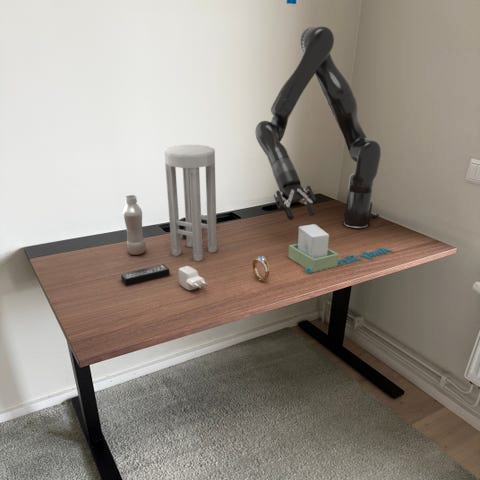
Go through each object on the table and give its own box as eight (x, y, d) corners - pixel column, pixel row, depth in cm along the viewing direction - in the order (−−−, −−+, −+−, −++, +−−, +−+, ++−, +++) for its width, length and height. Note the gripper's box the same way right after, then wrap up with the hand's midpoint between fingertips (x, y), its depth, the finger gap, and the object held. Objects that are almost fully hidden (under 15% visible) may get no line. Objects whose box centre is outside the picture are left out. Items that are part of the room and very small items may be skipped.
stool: (189, 241, 176) (184, 142, 158) (224, 249, 170) (223, 147, 152) (163, 255, 165) (154, 150, 147) (200, 265, 158) (196, 156, 140)
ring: (270, 283, 147) (271, 259, 143) (262, 285, 145) (262, 261, 141) (258, 275, 152) (259, 251, 148) (250, 277, 151) (250, 253, 146)
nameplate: (393, 253, 168) (383, 248, 172) (394, 251, 168) (383, 246, 171) (310, 275, 152) (301, 269, 156) (310, 273, 152) (301, 267, 156)
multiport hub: (121, 280, 148) (120, 273, 147) (164, 270, 155) (163, 263, 153) (126, 286, 145) (125, 279, 144) (170, 275, 151) (169, 268, 150)
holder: (312, 251, 169) (313, 240, 167) (337, 266, 158) (339, 254, 156) (288, 257, 164) (288, 245, 162) (312, 272, 154) (313, 260, 152)
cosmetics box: (296, 254, 164) (298, 225, 159) (313, 252, 166) (315, 223, 161) (309, 266, 156) (312, 236, 150) (327, 264, 157) (330, 234, 152)
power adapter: (211, 294, 141) (210, 276, 138) (197, 299, 138) (197, 280, 135) (190, 281, 148) (189, 263, 145) (177, 285, 145) (175, 268, 142)
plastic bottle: (150, 251, 168) (144, 195, 158) (139, 258, 163) (132, 200, 153) (135, 248, 170) (128, 192, 160) (123, 255, 165) (116, 198, 155)
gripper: (272, 171, 156) (290, 215, 154) (307, 166, 162) (325, 208, 160) (263, 183, 163) (280, 225, 160) (297, 178, 169) (314, 219, 166)
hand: (302, 217), depth 160 cm, fingers open, 8 cm apart
